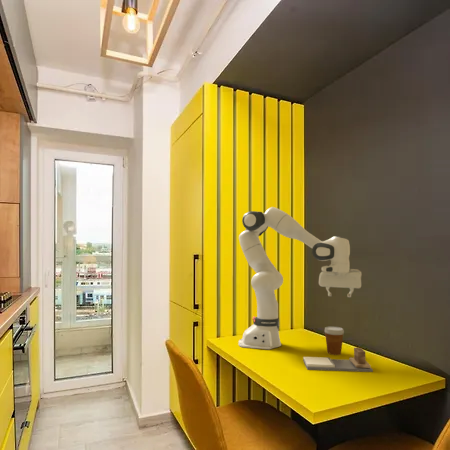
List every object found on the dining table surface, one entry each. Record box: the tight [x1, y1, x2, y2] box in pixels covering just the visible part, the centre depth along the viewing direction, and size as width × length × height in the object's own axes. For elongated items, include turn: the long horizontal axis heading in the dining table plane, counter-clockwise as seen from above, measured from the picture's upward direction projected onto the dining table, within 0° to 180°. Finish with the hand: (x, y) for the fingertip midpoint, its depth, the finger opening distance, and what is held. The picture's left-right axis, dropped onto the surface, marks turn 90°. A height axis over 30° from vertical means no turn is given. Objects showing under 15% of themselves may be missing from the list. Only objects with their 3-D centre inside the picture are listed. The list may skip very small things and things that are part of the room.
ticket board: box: [302, 356, 374, 373], centre depth 156 cm, size 27×12×2 cm, turn 86°
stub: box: [348, 347, 372, 368], centre depth 155 cm, size 6×10×6 cm, turn 176°
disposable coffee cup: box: [324, 326, 345, 356], centre depth 175 cm, size 10×10×12 cm
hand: (339, 296), depth 176 cm, fingers open, 8 cm apart
